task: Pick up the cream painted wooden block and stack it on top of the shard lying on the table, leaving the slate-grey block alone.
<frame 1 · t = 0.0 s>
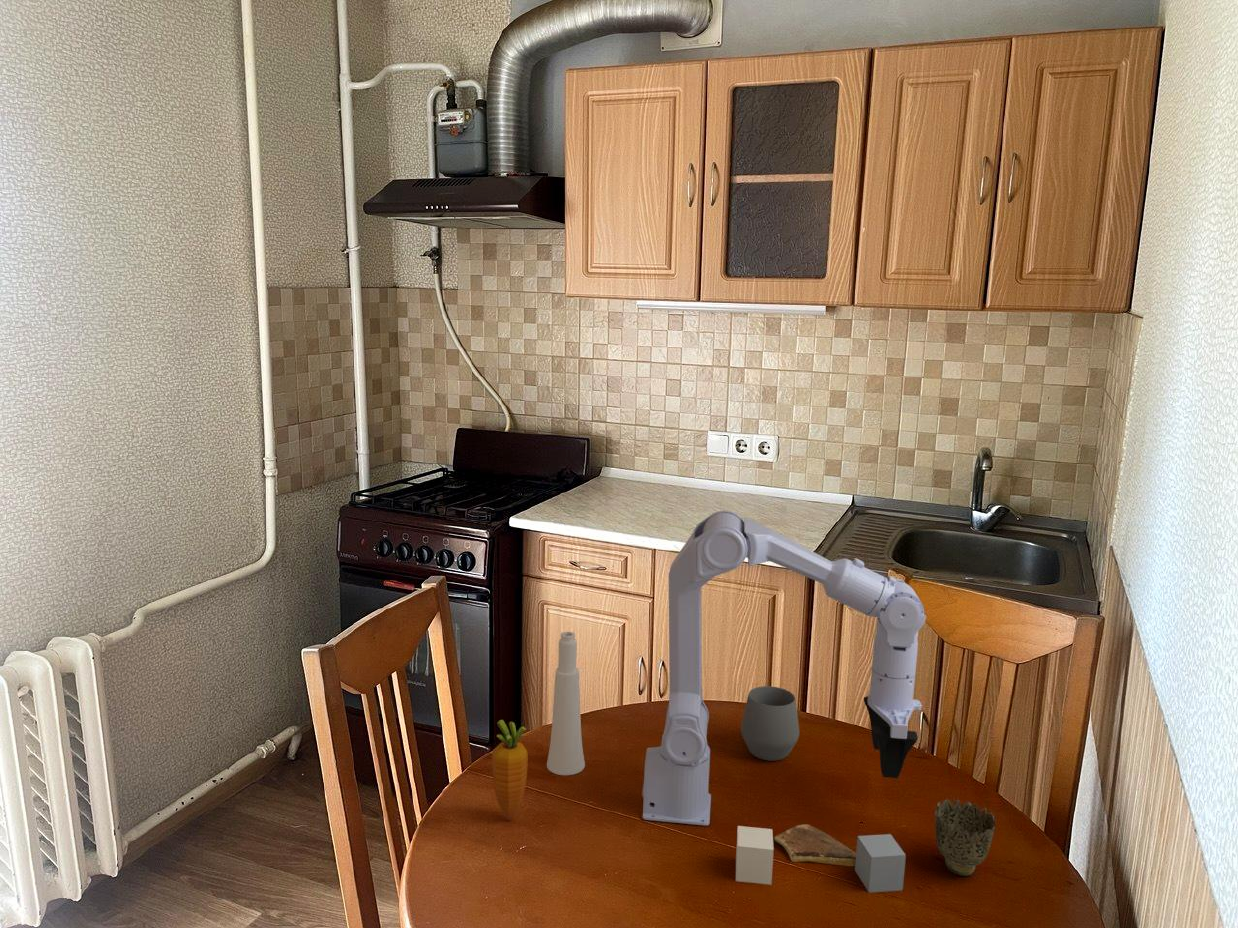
hand: (885, 762, 125), 10 cm above the table, tool pointing down, fingers open, 7 cm apart
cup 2: (959, 870, 118), on the table
cosmetic bottle: (565, 767, 142), on the table
cream block: (753, 872, 117), on the table
slate block: (878, 880, 116), on the table
cup: (768, 753, 147), on the table
shard: (818, 851, 122), on the table
carrot: (509, 821, 127), on the table
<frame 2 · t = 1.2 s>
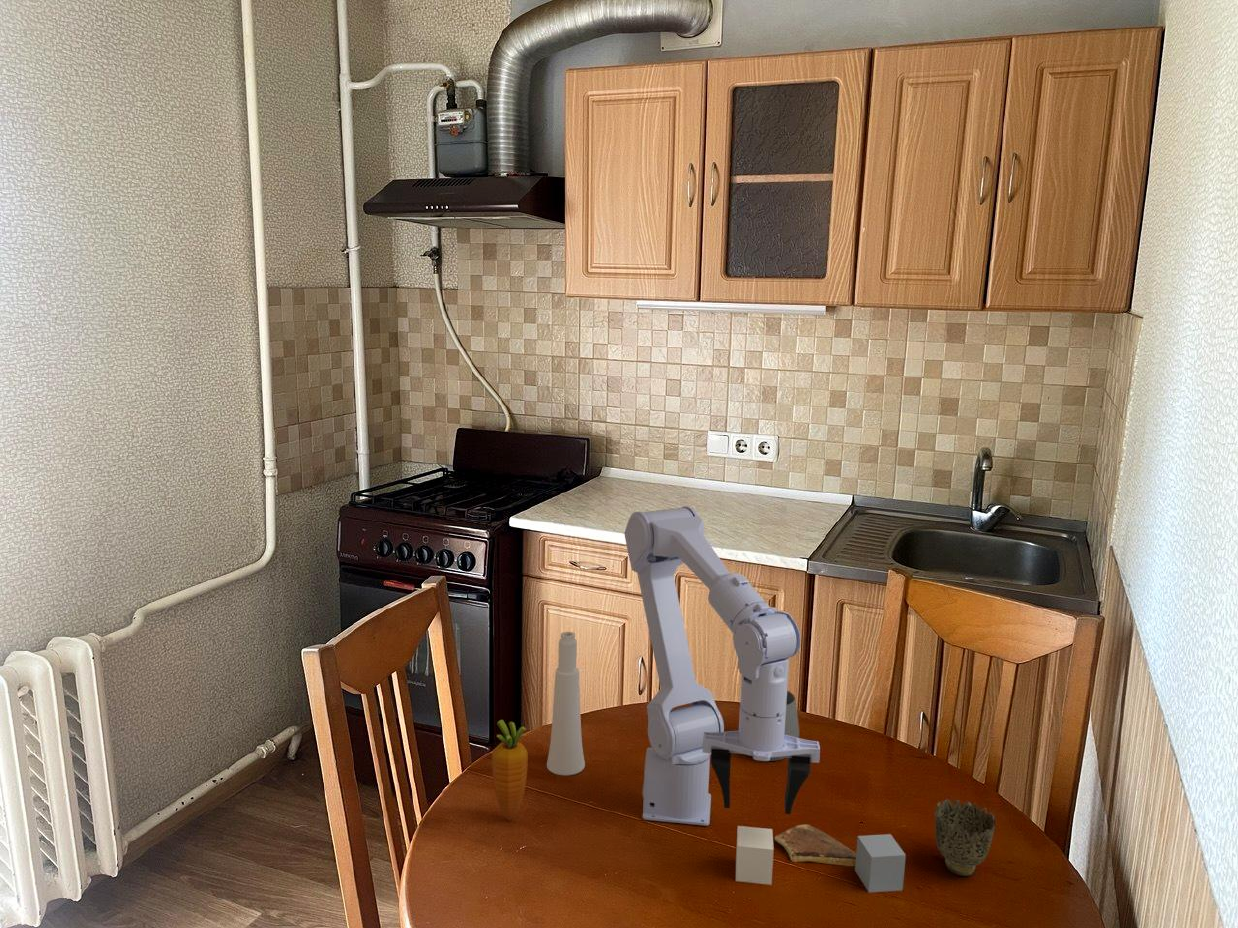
hand: (757, 806, 115), 9 cm above the table, tool pointing down, fingers open, 7 cm apart
nothing on the table moved.
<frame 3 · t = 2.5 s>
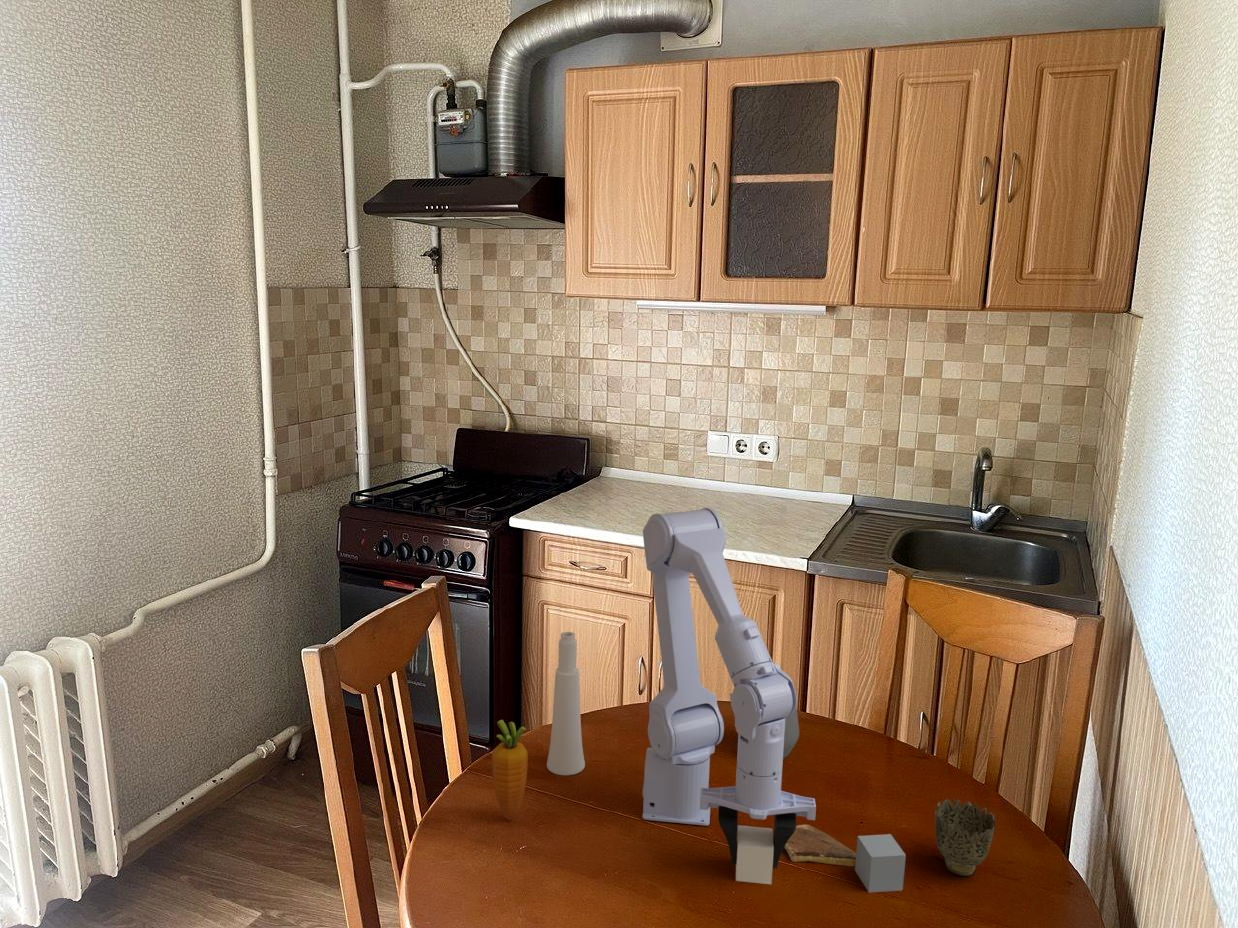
hand: (753, 861, 116), 1 cm above the table, tool pointing down, fingers closed on cream block, 4 cm apart
cream block: (753, 871, 117), on the table, touching gripper
everything else where it was.
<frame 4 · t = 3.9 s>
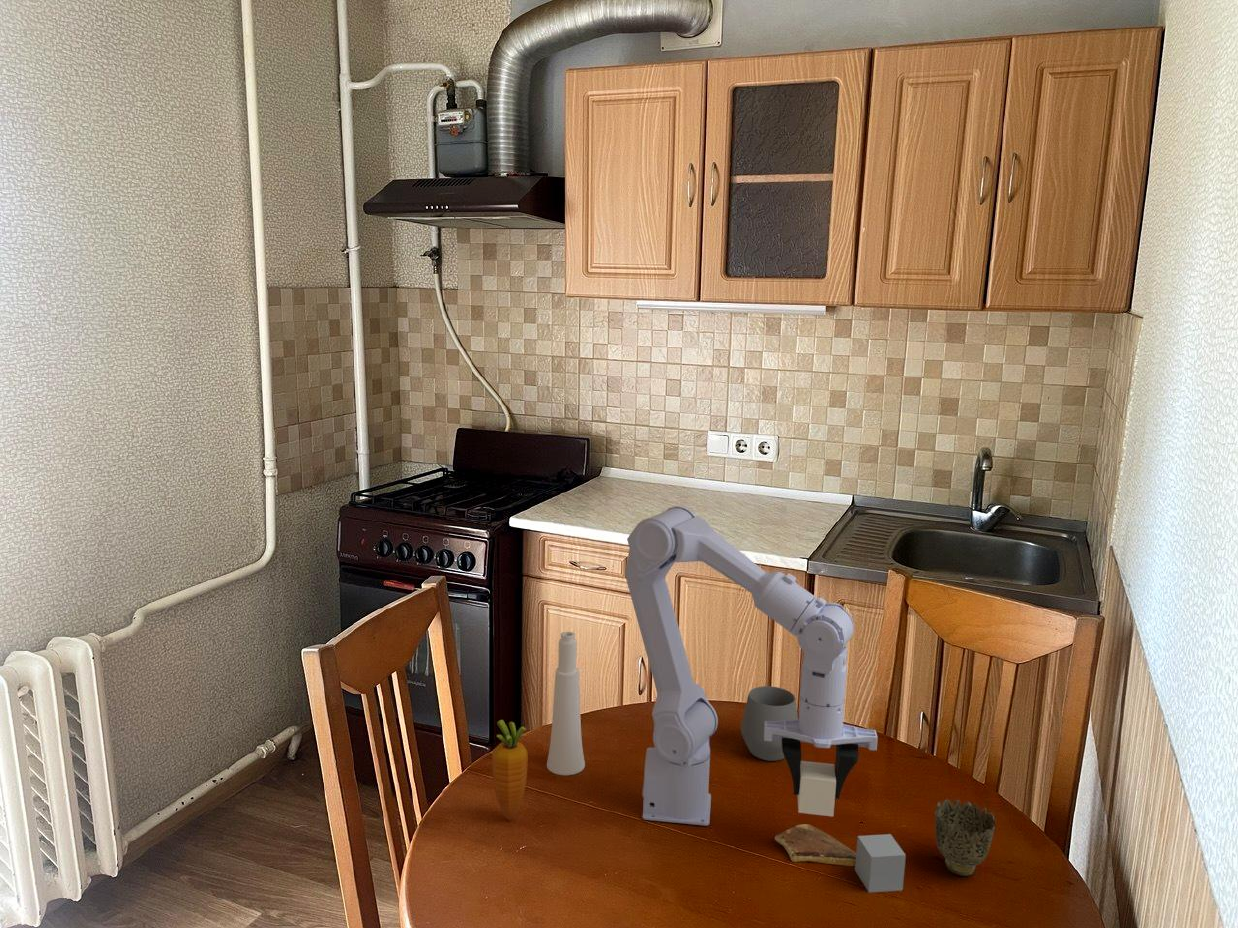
hand: (815, 792, 120), 8 cm above the table, tool pointing down, fingers closed on cream block, 4 cm apart
cream block: (815, 805, 120), point 7 cm above the table, touching gripper
everything else where it was.
when the fingers open (5 cm above the table, at t = 5.2 s): cream block drops 2 cm, point 1 cm above the table.
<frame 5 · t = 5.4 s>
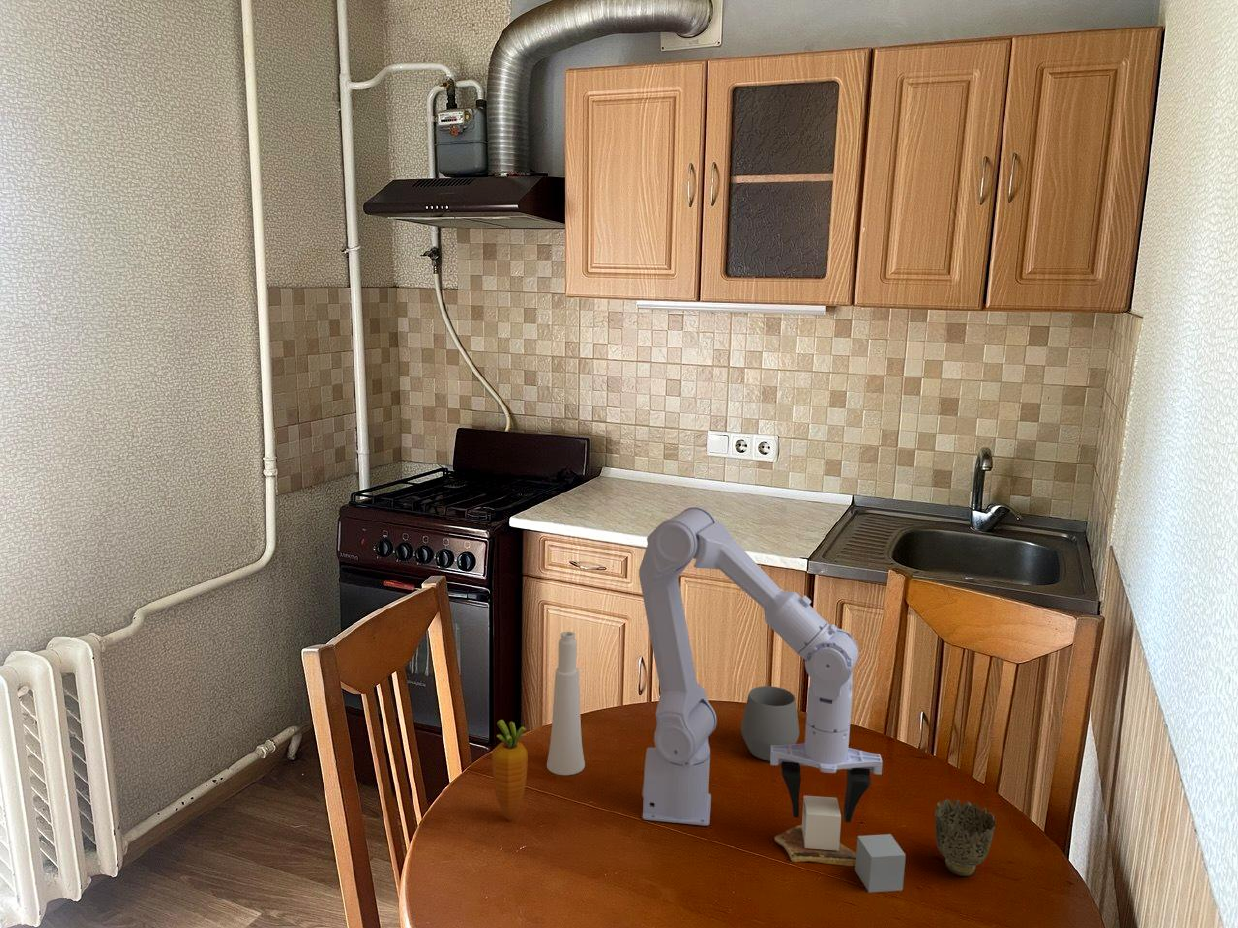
hand: (821, 815, 121), 5 cm above the table, tool pointing down, fingers open, 6 cm apart
cream block: (820, 839, 122), point 1 cm above the table
everything else where it was.
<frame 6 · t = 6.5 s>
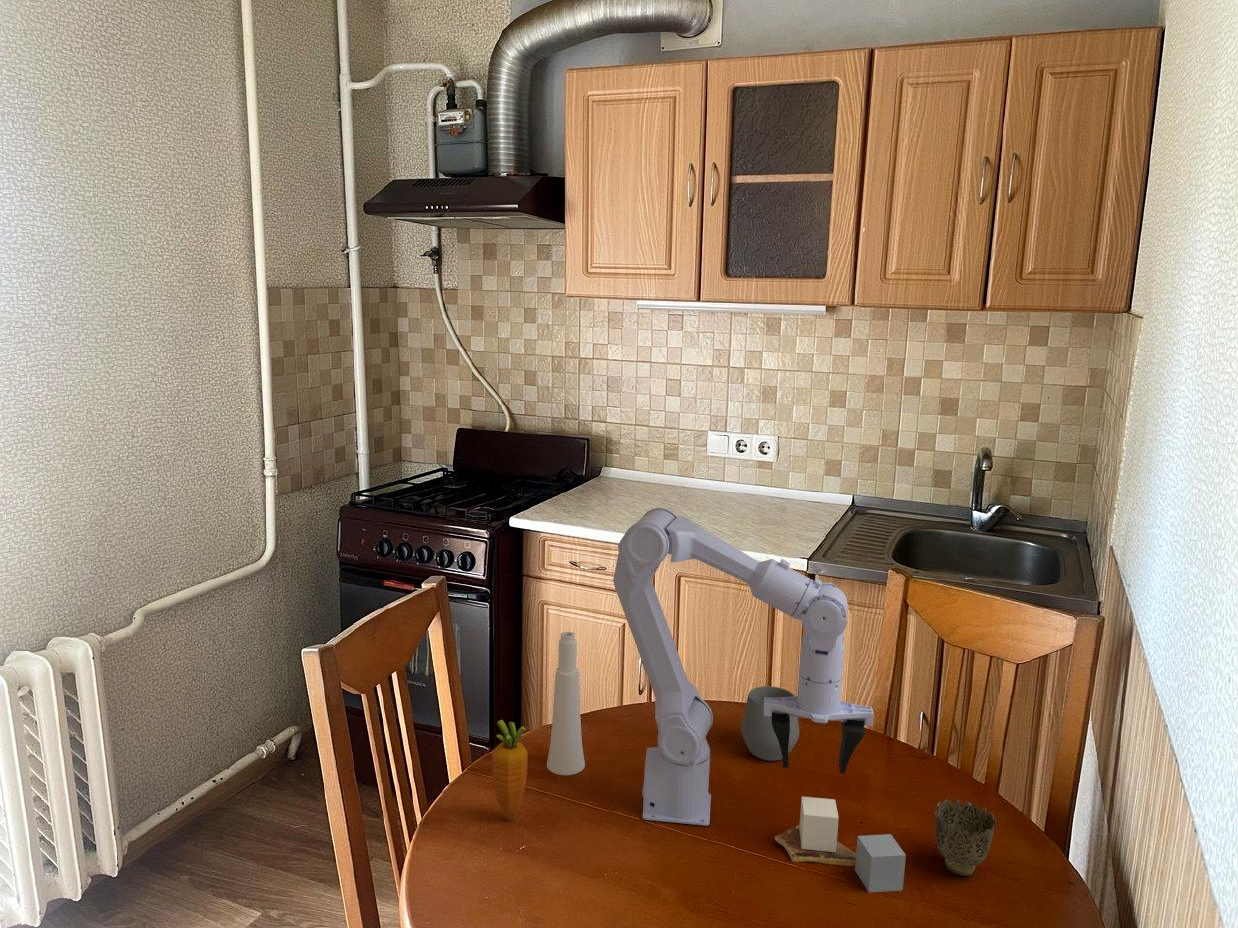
hand: (813, 767, 124), 10 cm above the table, tool pointing down, fingers open, 7 cm apart
cream block: (817, 840, 122), point 1 cm above the table, touching shard
shard: (818, 851, 122), on the table, touching cream block
everything else where it was.
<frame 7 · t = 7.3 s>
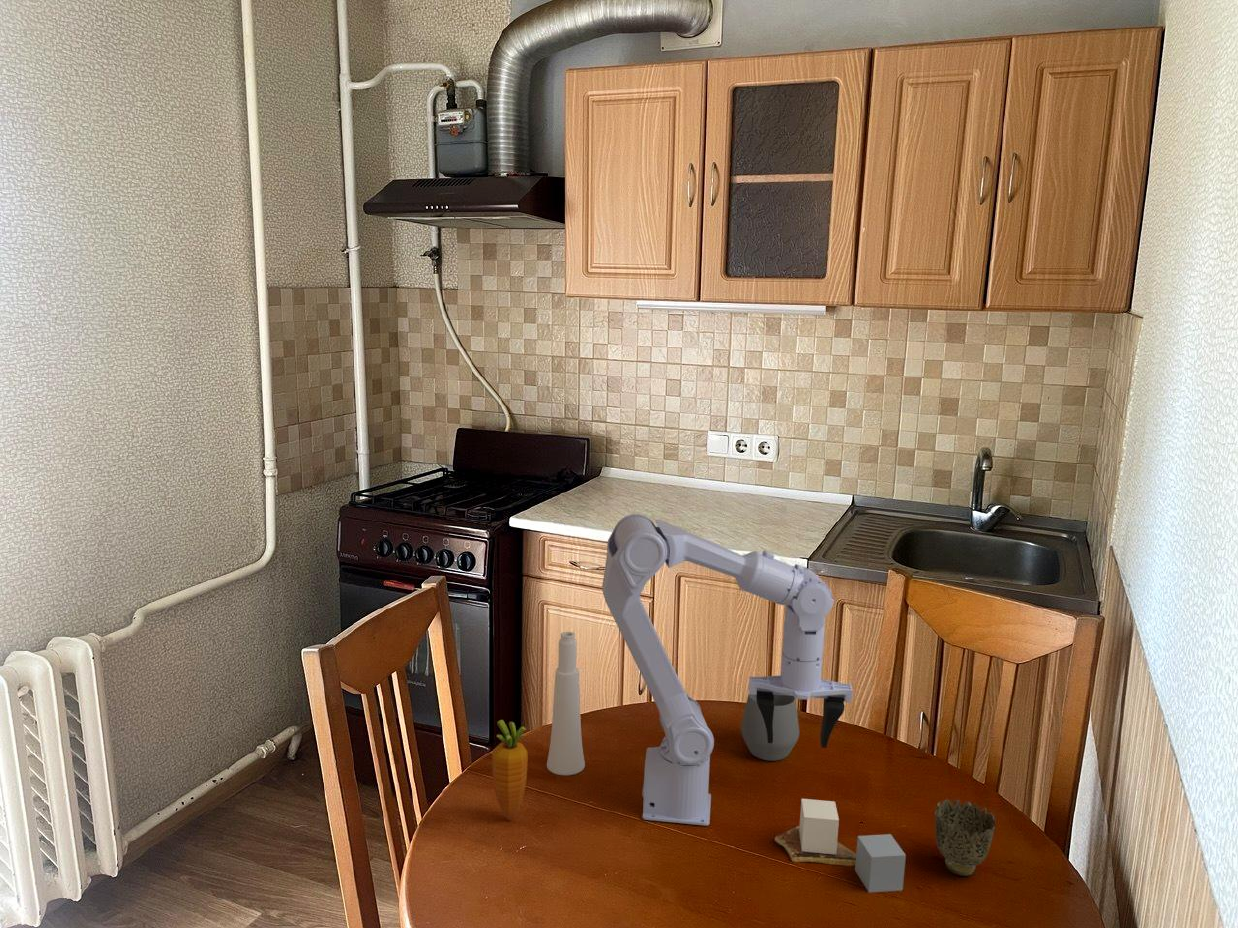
hand: (796, 742, 131), 10 cm above the table, tool pointing down, fingers open, 7 cm apart
nothing on the table moved.
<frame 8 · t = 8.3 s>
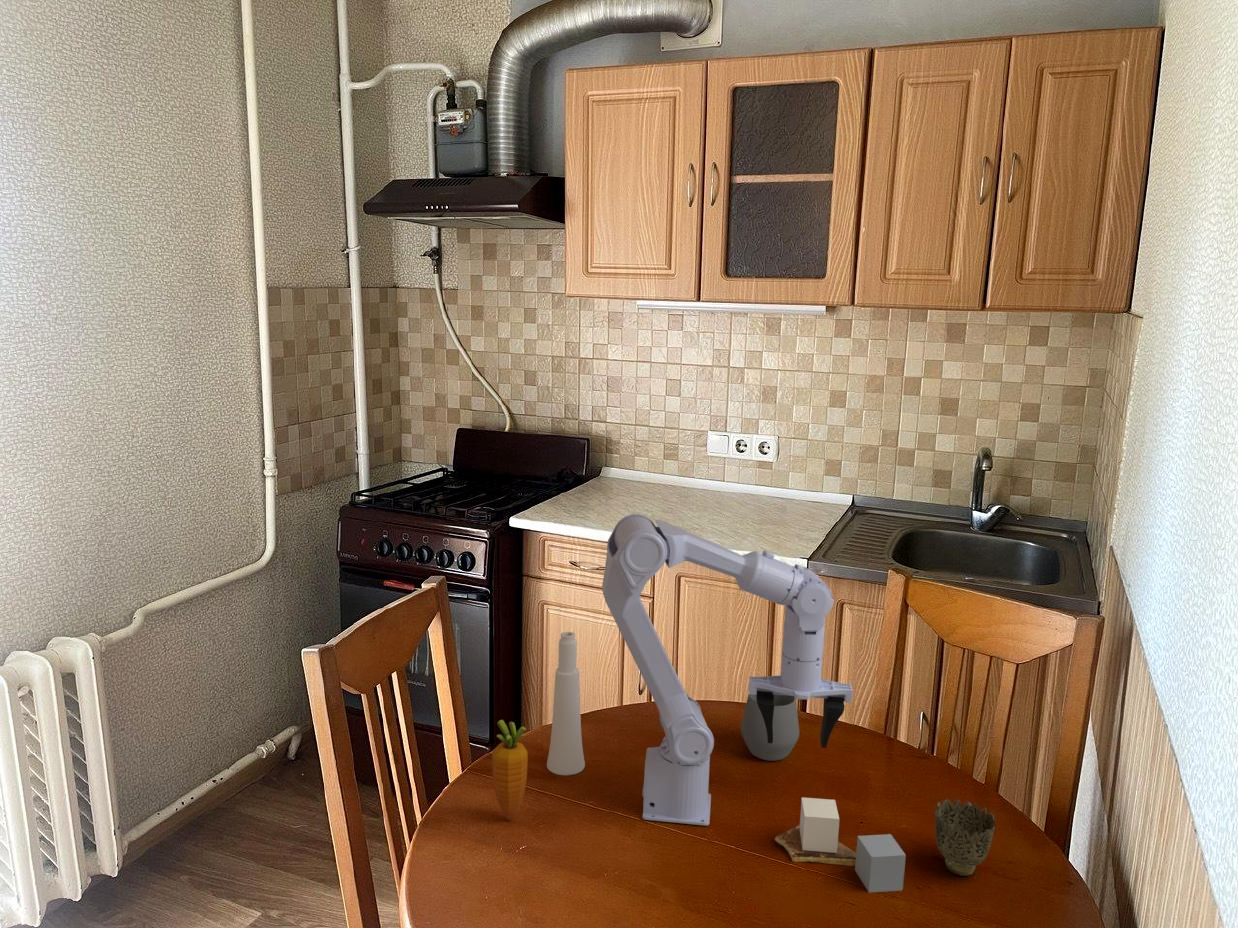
hand: (796, 742, 131), 10 cm above the table, tool pointing down, fingers open, 7 cm apart
nothing on the table moved.
at the end: cream block inside the target area on the shard (0.9 cm from its centre), point 2.0 cm above the shard's base; cream block tilted 1°; the gripper is holding nothing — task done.
